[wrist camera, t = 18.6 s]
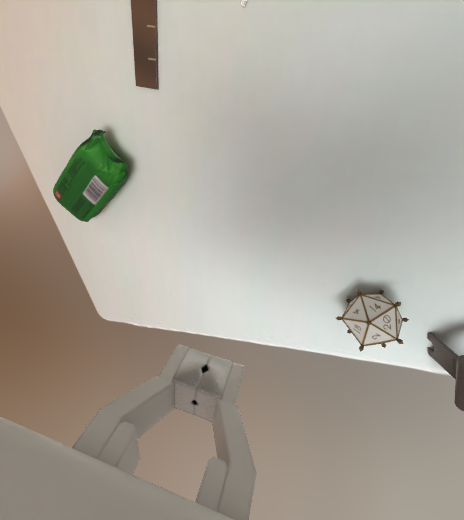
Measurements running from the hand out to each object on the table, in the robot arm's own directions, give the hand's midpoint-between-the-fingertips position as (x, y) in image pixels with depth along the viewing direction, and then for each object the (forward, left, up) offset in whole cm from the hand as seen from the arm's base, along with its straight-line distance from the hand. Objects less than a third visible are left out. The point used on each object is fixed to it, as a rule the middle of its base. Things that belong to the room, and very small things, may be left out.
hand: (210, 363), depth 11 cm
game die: (+4, +22, -29) cm, 37 cm away
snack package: (+19, -22, -29) cm, 41 cm away
